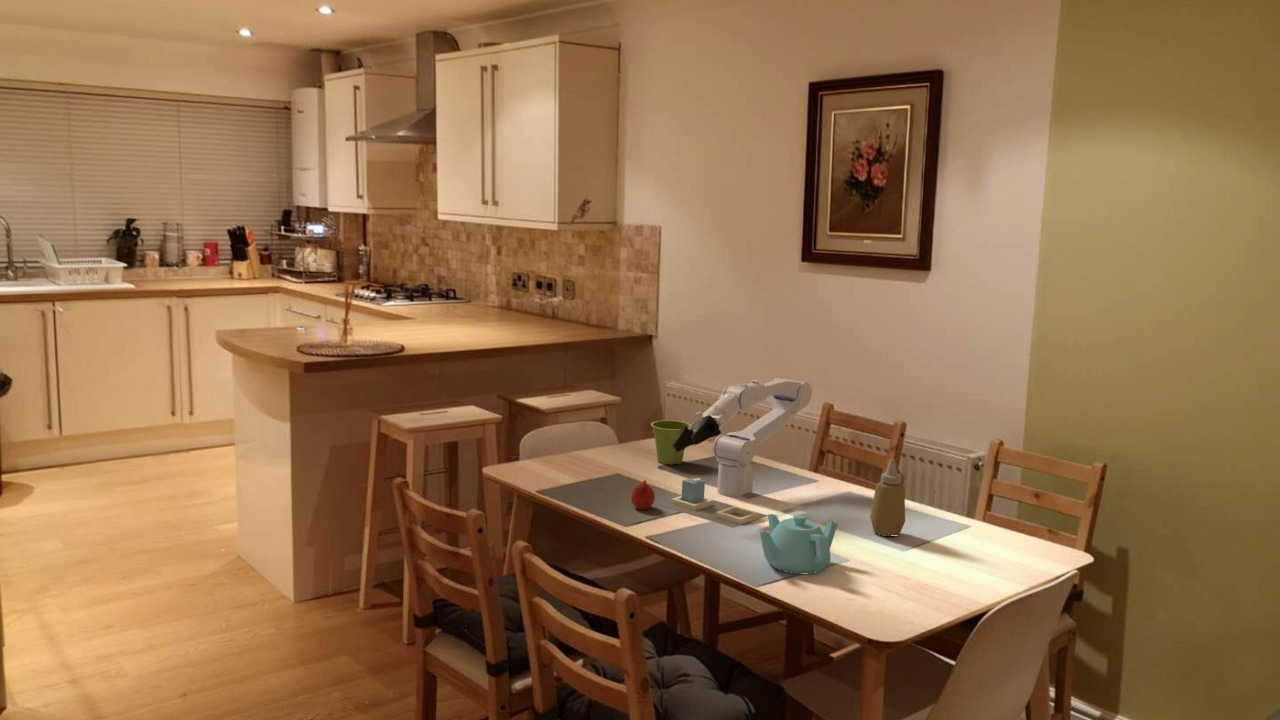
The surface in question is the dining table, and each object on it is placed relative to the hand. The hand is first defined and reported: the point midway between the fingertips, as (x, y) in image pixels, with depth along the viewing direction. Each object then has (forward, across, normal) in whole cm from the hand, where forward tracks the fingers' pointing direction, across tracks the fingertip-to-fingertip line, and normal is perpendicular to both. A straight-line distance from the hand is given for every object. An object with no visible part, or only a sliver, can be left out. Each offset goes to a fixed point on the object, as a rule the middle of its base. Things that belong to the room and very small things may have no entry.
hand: (684, 445), depth 247 cm
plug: (+3, -8, +14) cm, 16 cm away
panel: (+3, -2, +18) cm, 19 cm away
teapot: (+16, +30, +29) cm, 45 cm away
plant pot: (-24, -43, +10) cm, 51 cm away
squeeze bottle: (-15, +26, +43) cm, 52 cm away
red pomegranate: (+14, -11, +8) cm, 20 cm away
